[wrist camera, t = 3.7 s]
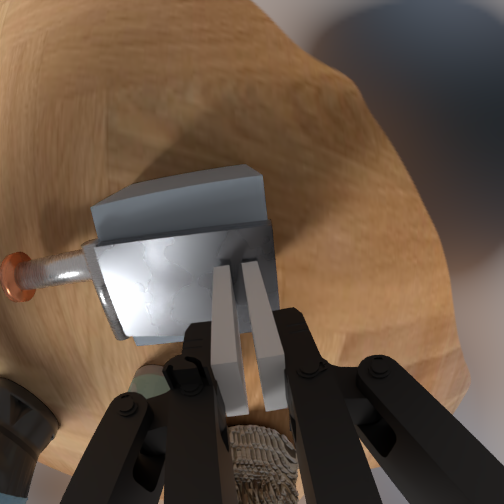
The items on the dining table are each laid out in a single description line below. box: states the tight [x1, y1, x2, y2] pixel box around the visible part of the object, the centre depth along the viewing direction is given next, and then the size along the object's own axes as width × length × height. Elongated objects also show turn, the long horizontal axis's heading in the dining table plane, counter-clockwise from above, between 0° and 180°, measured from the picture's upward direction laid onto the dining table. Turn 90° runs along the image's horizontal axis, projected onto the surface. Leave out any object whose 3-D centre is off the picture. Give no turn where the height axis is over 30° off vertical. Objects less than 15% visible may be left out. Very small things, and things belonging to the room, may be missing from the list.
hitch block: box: [90, 164, 268, 346], centre depth 21 cm, size 10×10×9 cm
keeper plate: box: [81, 220, 280, 340], centre depth 15 cm, size 11×6×1 cm, turn 97°
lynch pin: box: [0, 249, 92, 302], centre depth 20 cm, size 15×5×5 cm, turn 97°
